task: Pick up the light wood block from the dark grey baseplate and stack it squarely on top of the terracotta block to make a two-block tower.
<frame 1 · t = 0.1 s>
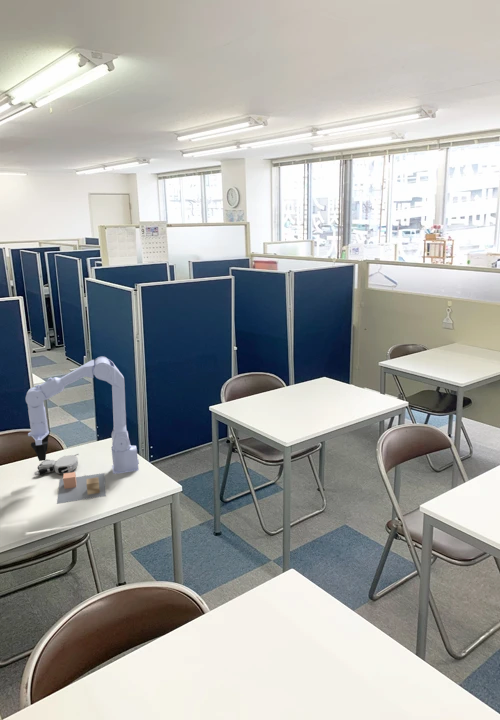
hand: (43, 455, 199), 10 cm above the table, tool pointing down, fingers open, 7 cm apart
baseplate: (82, 489, 195), on the table
top brick: (93, 491, 192), point 1 cm above the table, touching baseplate
base brick: (70, 485, 197), point 1 cm above the table, touching baseplate
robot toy: (58, 471, 210), on the table
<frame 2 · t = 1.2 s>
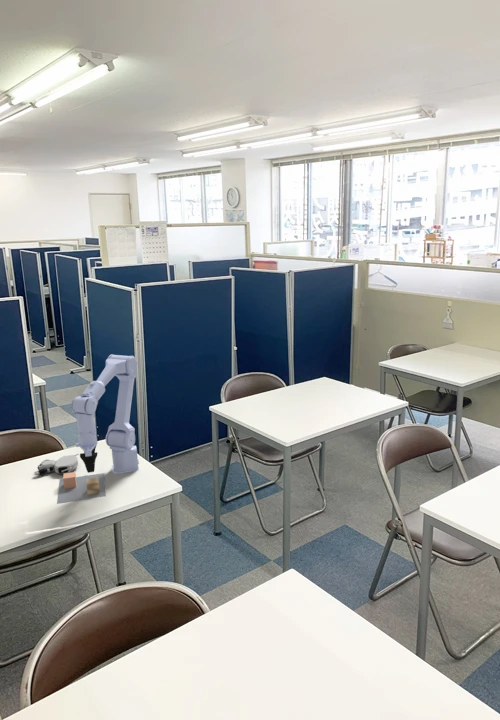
hand: (90, 467, 190), 10 cm above the table, tool pointing down, fingers open, 7 cm apart
nothing on the table moved.
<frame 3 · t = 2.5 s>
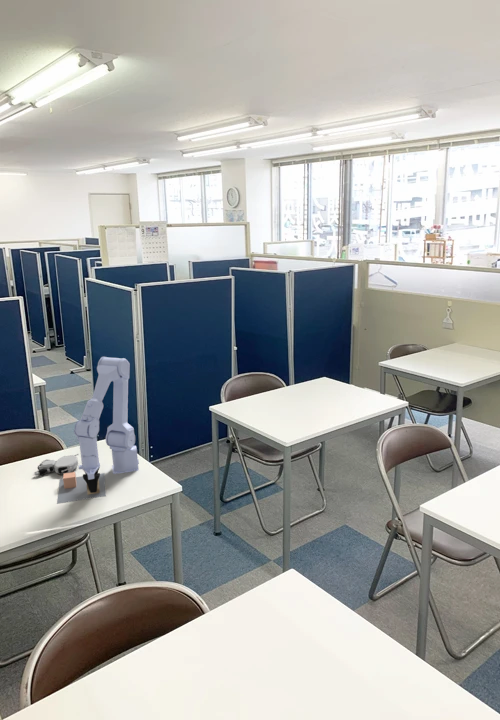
hand: (93, 488, 192), 1 cm above the table, tool pointing down, fingers closed on top brick, 4 cm apart
top brick: (93, 491, 192), point 1 cm above the table, touching baseplate, gripper
everything else where it was.
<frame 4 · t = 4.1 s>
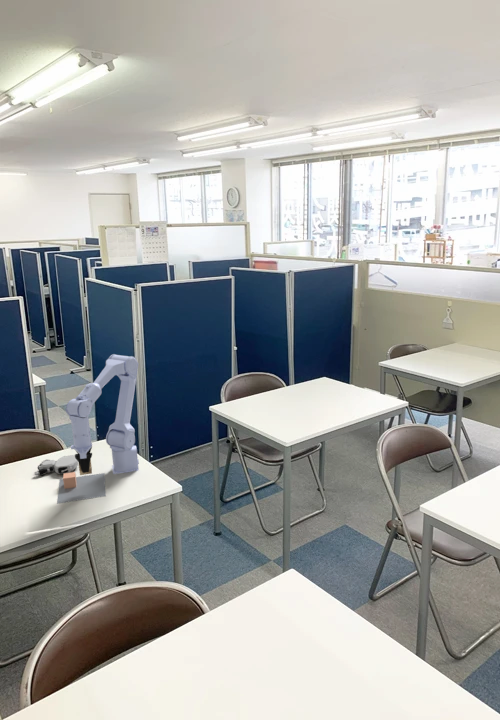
hand: (85, 469, 191), 9 cm above the table, tool pointing down, fingers closed on top brick, 4 cm apart
top brick: (85, 471, 192), point 8 cm above the table, touching gripper
everything else where it was.
when the fingers open (6 cm above the table, at t = 5.6 s): top brick stays where it is, resting on base brick.
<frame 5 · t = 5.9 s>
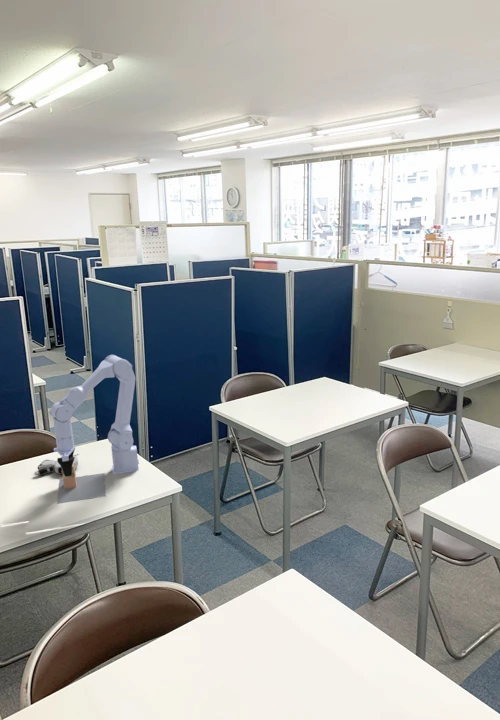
hand: (68, 471, 195), 6 cm above the table, tool pointing down, fingers open, 6 cm apart
top brick: (69, 475, 196), point 5 cm above the table, touching base brick
base brick: (70, 485, 197), point 1 cm above the table, touching baseplate, top brick
everything else where it was.
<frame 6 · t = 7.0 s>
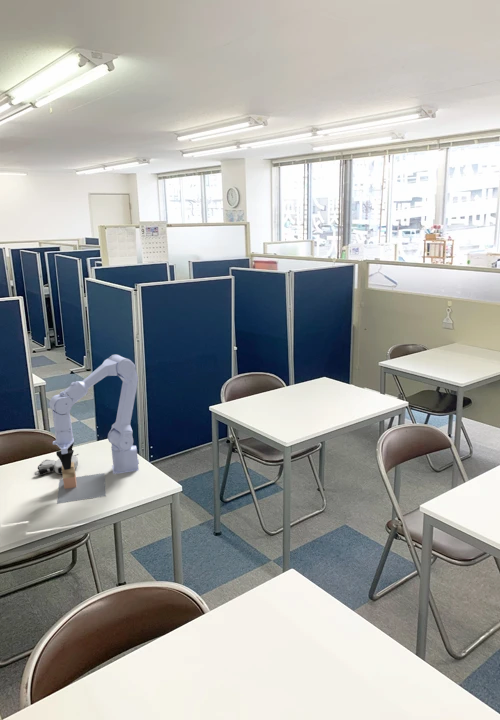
hand: (67, 464, 195), 9 cm above the table, tool pointing down, fingers open, 7 cm apart
nothing on the table moved.
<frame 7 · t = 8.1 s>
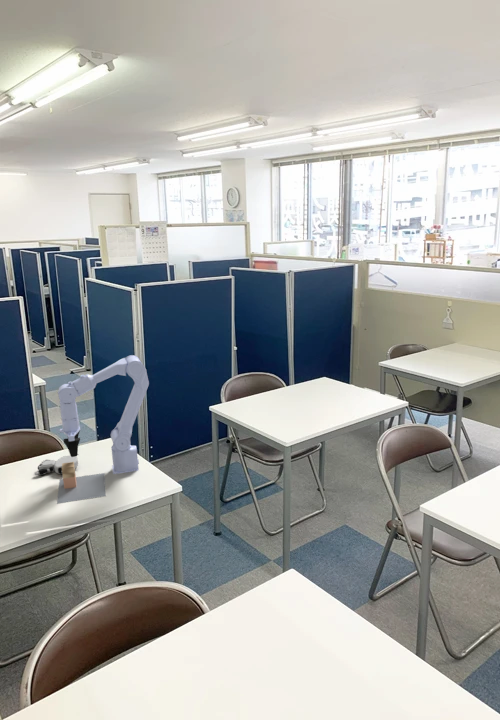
hand: (74, 451, 201), 10 cm above the table, tool pointing down, fingers open, 7 cm apart
nothing on the table moved.
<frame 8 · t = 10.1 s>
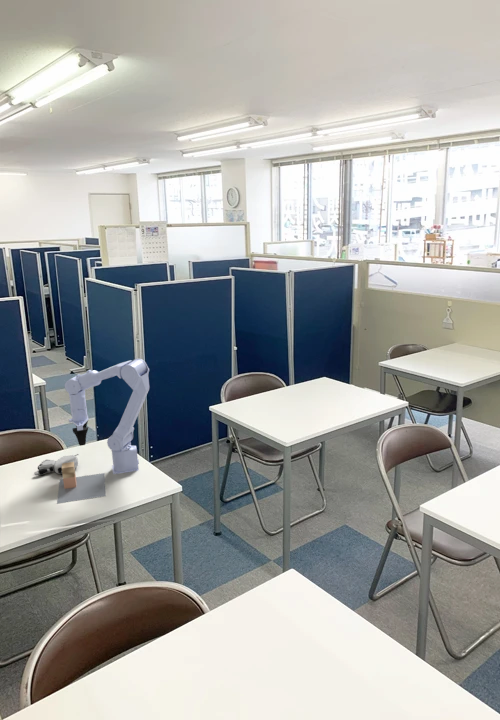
hand: (82, 441, 210), 10 cm above the table, tool pointing down, fingers open, 7 cm apart
nothing on the table moved.
at the end: top brick 0.0 cm off-centre on the base brick, point 4.0 cm above the base brick's base; top brick tilted 0°; the gripper is holding nothing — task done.
